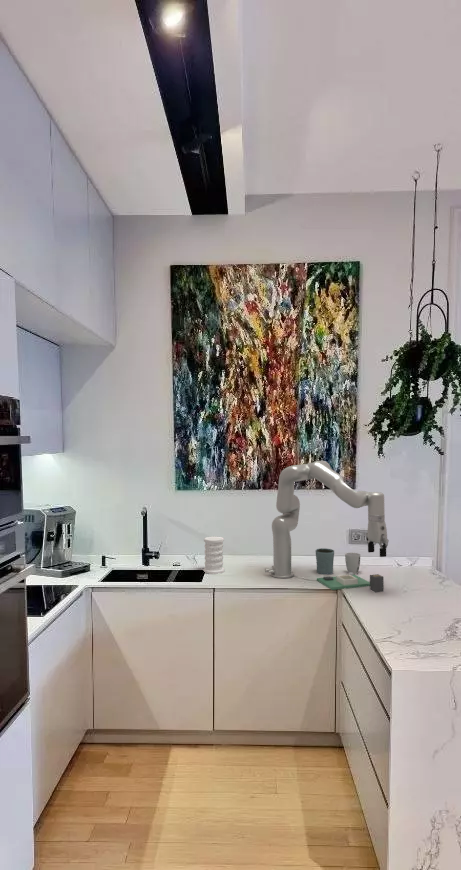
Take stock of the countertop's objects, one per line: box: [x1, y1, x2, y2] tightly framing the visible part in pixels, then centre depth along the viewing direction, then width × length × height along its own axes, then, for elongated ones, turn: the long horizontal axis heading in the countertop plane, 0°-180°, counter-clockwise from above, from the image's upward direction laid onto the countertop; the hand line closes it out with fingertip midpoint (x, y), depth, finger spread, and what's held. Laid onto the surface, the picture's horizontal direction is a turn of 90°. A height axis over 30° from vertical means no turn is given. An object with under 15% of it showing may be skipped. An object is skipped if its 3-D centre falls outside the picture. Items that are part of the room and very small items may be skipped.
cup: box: [344, 552, 361, 575], centre depth 257 cm, size 8×8×10 cm
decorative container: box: [202, 535, 226, 575], centre depth 261 cm, size 12×12×18 cm
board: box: [316, 572, 370, 591], centre depth 239 cm, size 22×16×4 cm
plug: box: [369, 573, 385, 593], centre depth 227 cm, size 5×4×7 cm
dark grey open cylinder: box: [315, 547, 335, 576], centre depth 258 cm, size 10×10×12 cm
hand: (377, 554), depth 227 cm, fingers open, 9 cm apart
